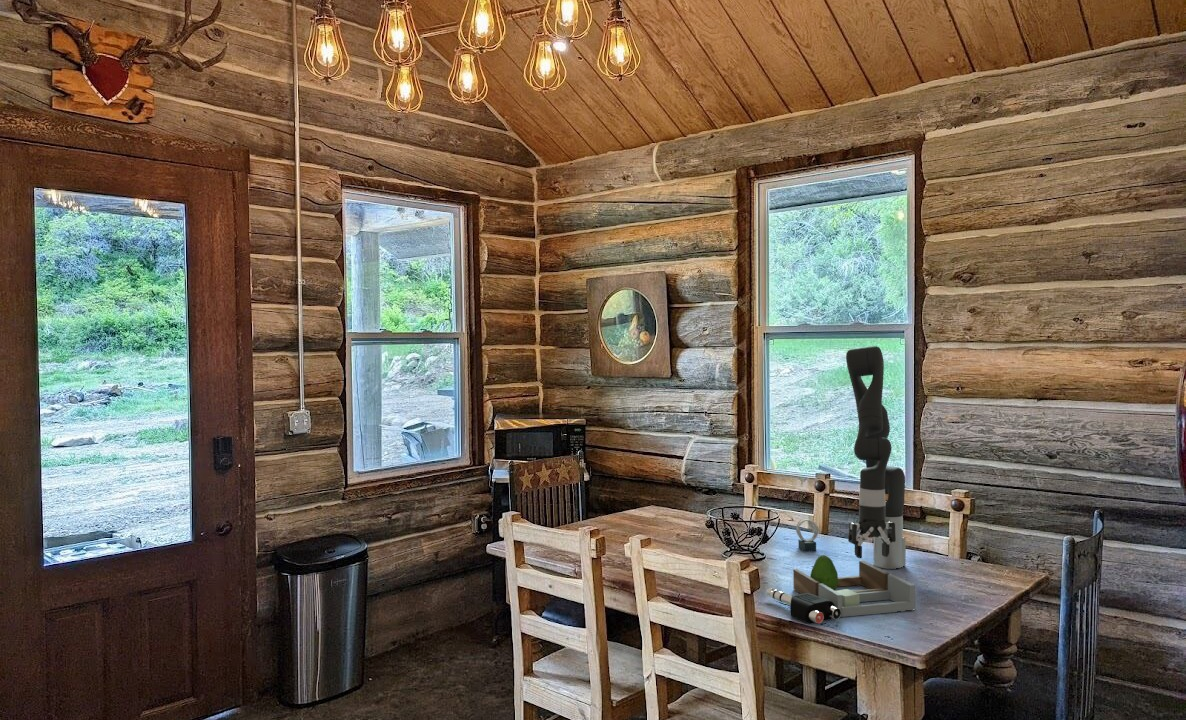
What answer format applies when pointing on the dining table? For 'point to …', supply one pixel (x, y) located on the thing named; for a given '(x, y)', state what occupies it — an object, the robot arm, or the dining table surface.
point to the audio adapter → (807, 606)
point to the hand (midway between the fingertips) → (871, 556)
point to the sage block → (849, 598)
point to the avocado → (825, 572)
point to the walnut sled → (846, 580)
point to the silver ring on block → (807, 544)
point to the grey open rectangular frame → (876, 598)
